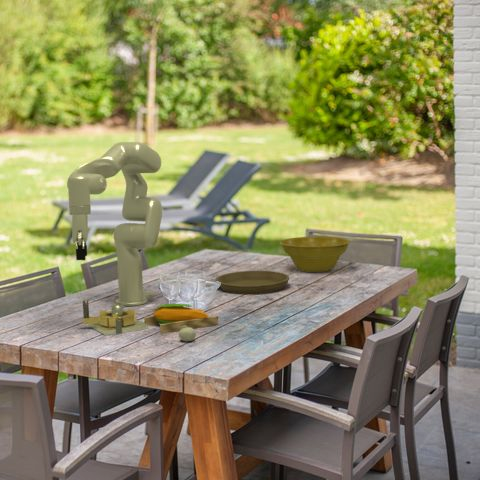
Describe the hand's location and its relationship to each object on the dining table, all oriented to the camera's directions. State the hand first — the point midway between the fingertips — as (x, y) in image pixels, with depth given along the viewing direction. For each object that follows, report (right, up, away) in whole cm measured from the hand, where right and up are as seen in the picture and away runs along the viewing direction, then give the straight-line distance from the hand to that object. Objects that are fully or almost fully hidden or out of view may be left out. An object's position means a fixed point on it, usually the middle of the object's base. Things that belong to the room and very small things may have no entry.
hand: (81, 258), depth 344 cm
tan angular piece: (+10, -23, -4) cm, 25 cm away
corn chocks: (+36, -24, -3) cm, 43 cm away
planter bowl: (+91, -7, +95) cm, 132 cm away
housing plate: (+13, -24, -4) cm, 28 cm away
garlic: (+39, -27, -25) cm, 54 cm away
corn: (+36, -24, -3) cm, 43 cm away
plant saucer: (+62, -14, +60) cm, 87 cm away
